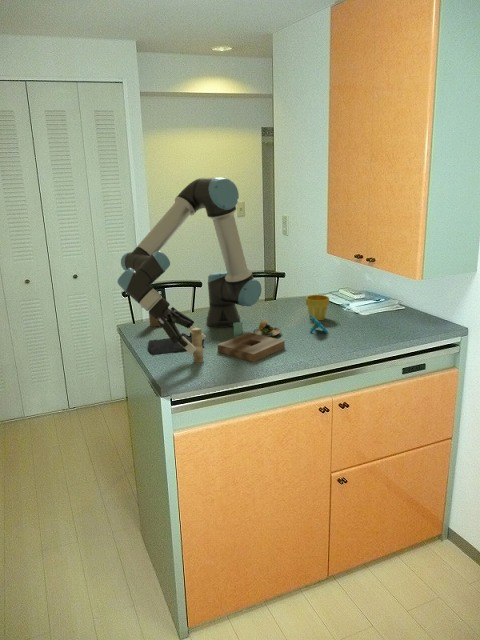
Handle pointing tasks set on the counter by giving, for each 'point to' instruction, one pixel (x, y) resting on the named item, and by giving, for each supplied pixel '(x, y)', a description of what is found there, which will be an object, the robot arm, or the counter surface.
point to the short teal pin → (238, 329)
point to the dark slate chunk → (168, 345)
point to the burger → (266, 330)
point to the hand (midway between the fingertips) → (198, 345)
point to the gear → (316, 325)
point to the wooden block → (153, 321)
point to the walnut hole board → (251, 346)
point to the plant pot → (317, 306)
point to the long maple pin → (197, 345)
